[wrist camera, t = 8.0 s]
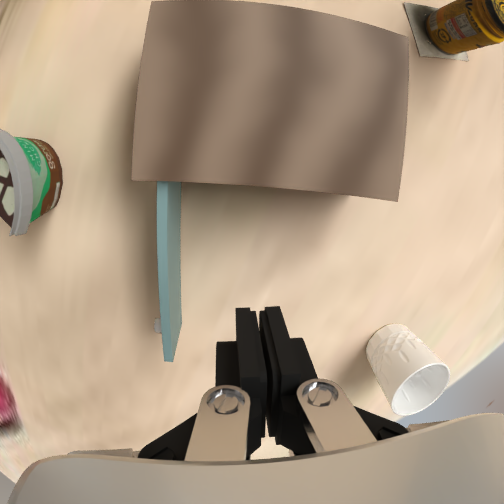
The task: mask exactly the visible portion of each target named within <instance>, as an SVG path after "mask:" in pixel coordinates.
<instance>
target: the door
mask: <svg viewBox="0 0 504 504" xmlns="http://www.w3.org/2000/svg"><path fill="white" fill-rule="evenodd" d="M180 218H181V182H174V181H157V257H158V283H159V301H160V317H161V318H156V319H155V324H154V329H155V332H156V333H162V342H163V352H164V361H167V362H173V359H174V355H175V351H176V346H177V342H178V337H179V333H180V329H181V325H182V315H181V276H180Z"/></svg>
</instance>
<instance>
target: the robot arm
mask: <svg viewBox="0 0 504 504" xmlns="http://www.w3.org/2000/svg"><path fill="white" fill-rule="evenodd" d="M266 420H267V426H268V433H269V437H275V441H276V445H282V446H284V447H286V448H288V449H289V455H290V457H282V458H271V459H258V460H251V454H252V453H253V452H254V451H255V450H257V449H258V448H259V447H260V446H261V438H264V437H265V422H266ZM7 504H504V414H501V413H481V414H475V415H469V416H465V417H461V418H457V419H453V420H448V421H440V422H432V423H422V424H411V425H409V426H408V428H405V427H403V426H402V425H400V424H398V423H396V422H393V421H390V420H388V419H385V418H383V417H380V416H377V415H375V414H372V413H370V412H367V411H365V410H362V409H360V408H357V407H355V406H353V405H352V403H351V402H350V400H349V399H348V398H347V396H346V395H345V393H344V392H343V390H342V389H341V388H340V387H339V386H338V385H337V384H336V383H334V382H332V381H330V380H326V379H318V377H317V374H316V372H315V369H314V366H313V364H312V361H311V359H310V356H309V353H308V351H307V348H306V345H305V343H304V340H303V338H290V337H289V334H288V331H287V328H286V324H285V321H284V318H283V315H282V312H281V309H280V306H275V307H265V311H260V314H259V327H258V322H257V316H256V311H250V308H236V341H227V342H217V344H216V387H213V388H211V389H209V390H208V391H207V392H206V393H205V394H204V395H203V397H202V399H201V403H200V407H199V410H198V413H196V414H195V415H193V416H192V417H190V418H189V419H187V420H186V421H184V422H183V423H181V424H180V425H178V426H177V427H175V428H173V429H172V430H170V431H169V432H167V433H165V434H164V435H162V436H161V437H159V438H157V439H156V440H154V441H152V442H151V443H149V444H148V445H146V446H145V447H144V448H142V450H141V451H133V450H132V448H131V449H117V450H94V451H74V452H70V453H68V454H67V455H60V456H52V457H48V458H44V459H41V460H38V461H36V462H34V463H33V464H31V465H30V466H29V467H28V468H27V469H26V470H25V471H24V472H23V474H22V475H21V477H20V478H19V480H18V482H17V483H16V485H15V487H14V489H13V491H12V493H11V495H10V497H9V500H8V502H7Z"/></svg>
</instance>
